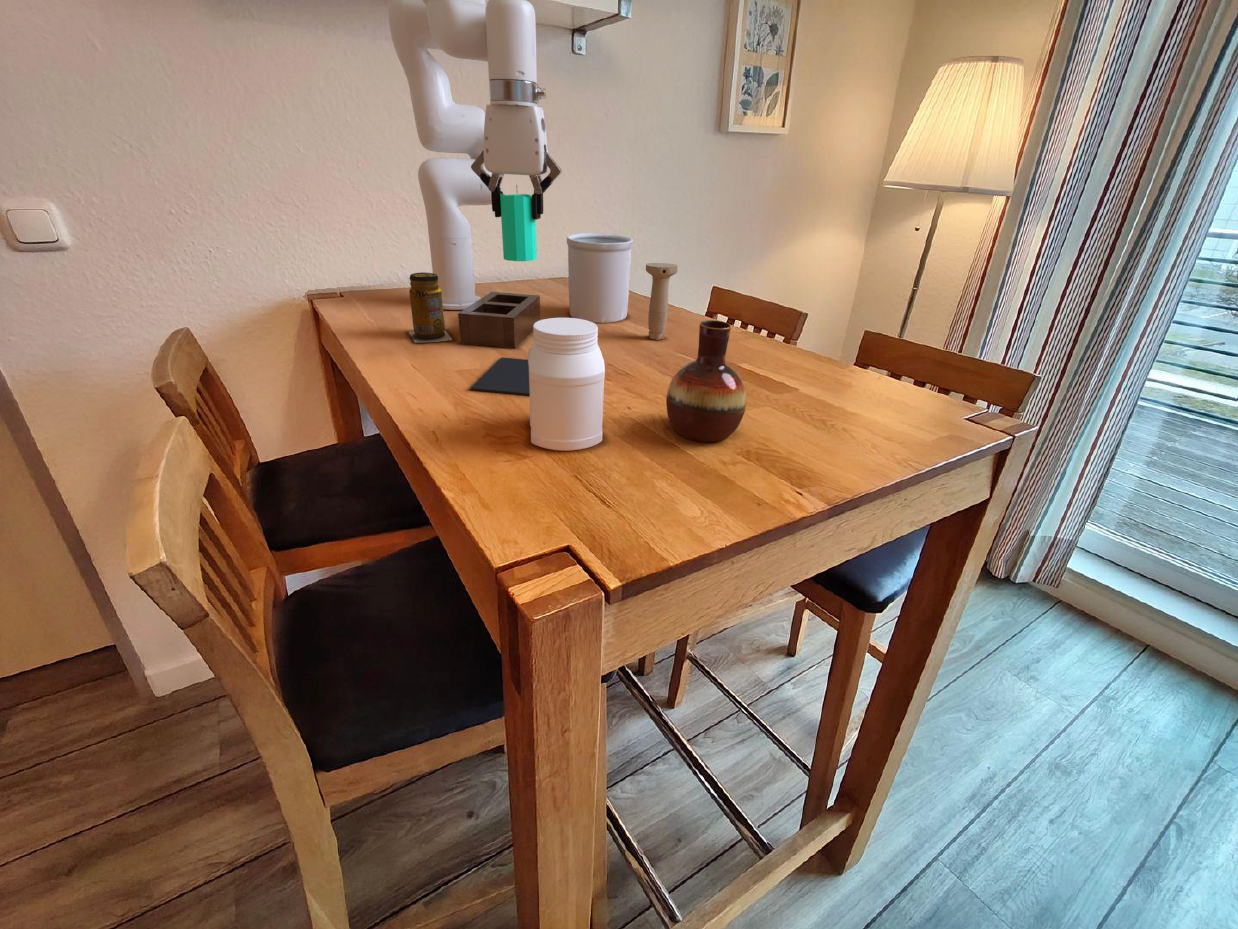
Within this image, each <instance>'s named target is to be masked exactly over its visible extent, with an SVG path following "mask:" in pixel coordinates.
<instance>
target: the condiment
mask: <svg viewBox="0 0 1238 929" xmlns="http://www.w3.org/2000/svg"><path fill="white" fill-rule="evenodd" d="M409 281H410V283H409V285H410V288H409V292H408V293H409V301H410V309H411V310H410V311H411V318H412V319H411V320H412V327H413V330H408V331H407V332H408V335H409V336H410V337H411V339H412V341H413V342H414V343H419V344H420V343H421V344H422V343H438V342H447V341H453V338H452V337H451V336H450V334H448V332H447V331H446V326H445V316H444V309H443V304H442V292H441V289H440V288H439V283H438V276H437V275H436V274H434V273H433V272H413V273H410V275H409Z"/></svg>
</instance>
